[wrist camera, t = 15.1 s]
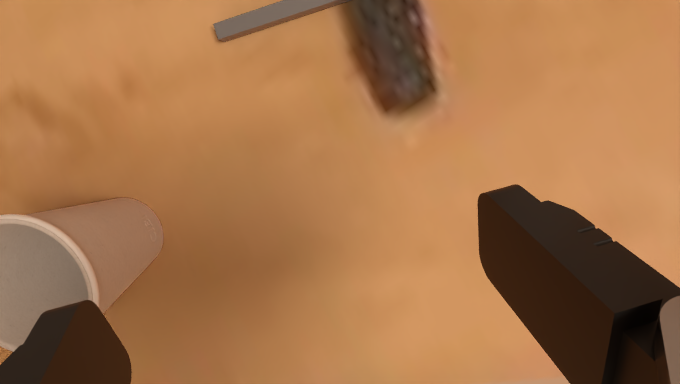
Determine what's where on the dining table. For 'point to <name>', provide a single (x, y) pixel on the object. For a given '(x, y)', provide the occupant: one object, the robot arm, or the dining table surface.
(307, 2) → the guide channel
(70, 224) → the dixie cup
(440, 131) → the dining table surface
